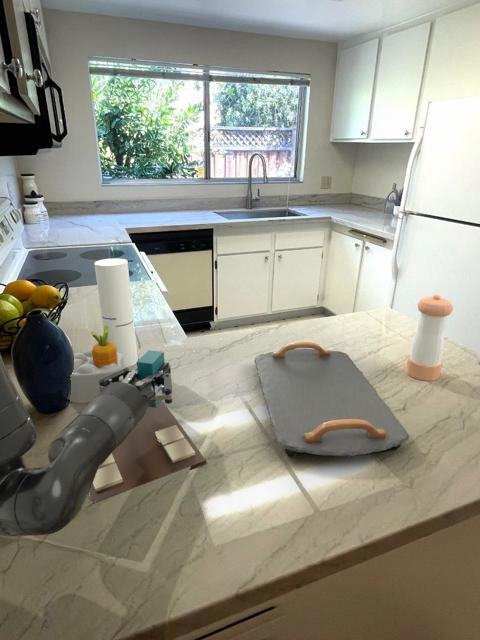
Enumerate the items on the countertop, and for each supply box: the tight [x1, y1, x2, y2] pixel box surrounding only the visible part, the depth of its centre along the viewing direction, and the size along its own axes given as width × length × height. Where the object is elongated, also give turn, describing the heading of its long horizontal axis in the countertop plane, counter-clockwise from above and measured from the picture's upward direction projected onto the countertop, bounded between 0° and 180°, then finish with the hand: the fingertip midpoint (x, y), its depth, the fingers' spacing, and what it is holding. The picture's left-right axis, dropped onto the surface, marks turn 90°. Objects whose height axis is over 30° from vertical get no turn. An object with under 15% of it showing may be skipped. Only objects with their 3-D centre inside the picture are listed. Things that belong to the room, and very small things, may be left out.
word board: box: [88, 400, 207, 505], centre depth 69 cm, size 18×20×1 cm
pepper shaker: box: [405, 294, 454, 382], centre depth 90 cm, size 7×7×19 cm
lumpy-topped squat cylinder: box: [69, 347, 124, 404], centre depth 84 cm, size 10×13×9 cm
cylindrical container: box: [93, 257, 139, 368], centre depth 95 cm, size 7×7×25 cm
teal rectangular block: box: [136, 349, 166, 408], centre depth 74 cm, size 3×5×9 cm, turn 166°
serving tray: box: [254, 341, 410, 458], centre depth 82 cm, size 39×23×6 cm, turn 5°
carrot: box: [90, 325, 117, 368], centre depth 83 cm, size 5×5×15 cm
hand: (158, 365), depth 76 cm, fingers closed on teal rectangular block, 3 cm apart
